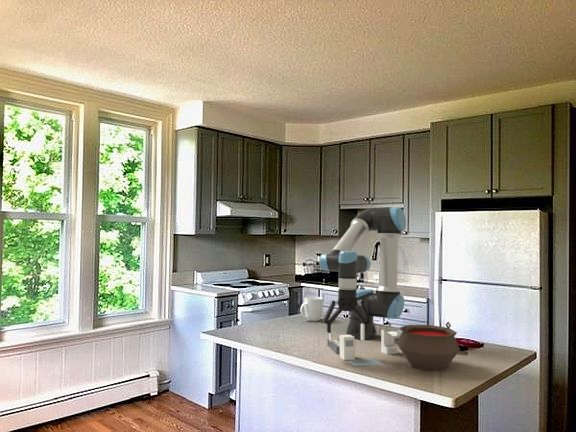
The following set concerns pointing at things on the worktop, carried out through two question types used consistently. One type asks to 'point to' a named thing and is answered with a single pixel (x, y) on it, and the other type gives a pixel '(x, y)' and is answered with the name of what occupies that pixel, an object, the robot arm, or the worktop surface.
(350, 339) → the block
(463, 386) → the worktop surface
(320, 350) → the worktop surface
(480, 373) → the worktop surface
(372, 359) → the mat
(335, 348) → the power strip
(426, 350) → the brown pot
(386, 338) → the white angled block
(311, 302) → the mug
